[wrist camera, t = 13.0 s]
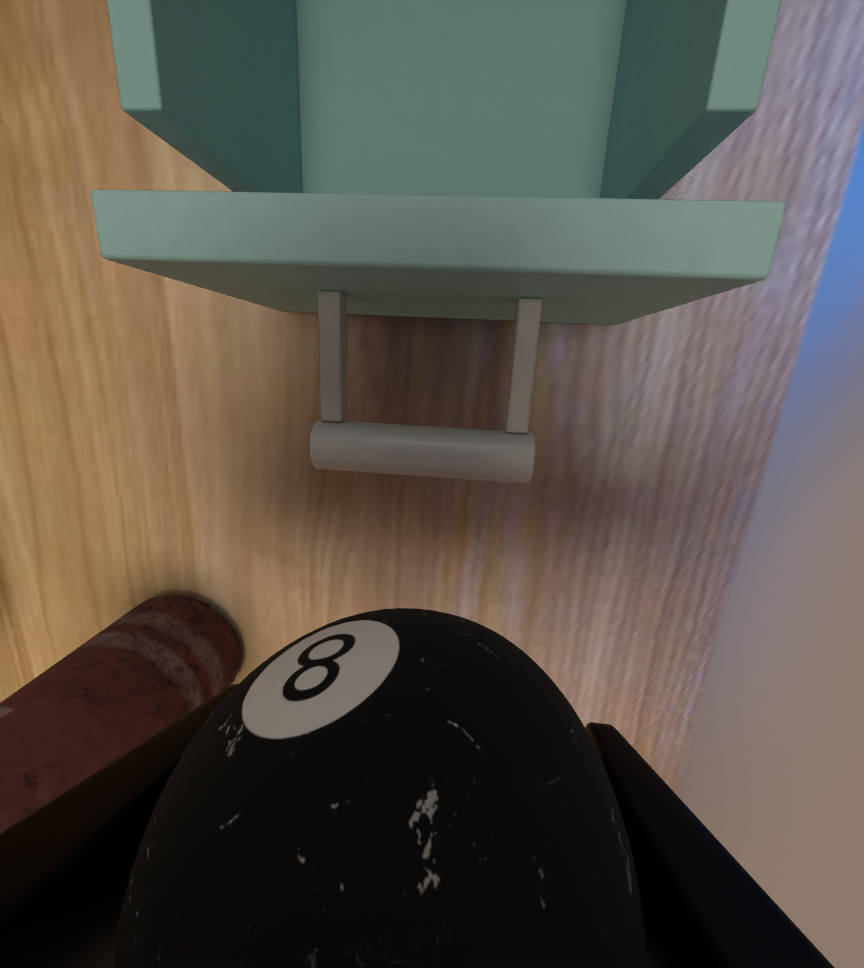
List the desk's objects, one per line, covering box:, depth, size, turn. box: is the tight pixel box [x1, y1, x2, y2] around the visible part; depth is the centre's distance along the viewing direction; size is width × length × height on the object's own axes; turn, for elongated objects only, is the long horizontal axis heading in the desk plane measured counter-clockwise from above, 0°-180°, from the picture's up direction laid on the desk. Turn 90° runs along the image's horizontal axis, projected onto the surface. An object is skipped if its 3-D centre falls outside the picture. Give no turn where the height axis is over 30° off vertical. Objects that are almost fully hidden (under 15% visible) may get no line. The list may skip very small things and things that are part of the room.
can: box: [0, 596, 239, 833], centre depth 15 cm, size 6×6×14 cm
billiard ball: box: [113, 608, 646, 968], centre depth 6 cm, size 6×6×6 cm
